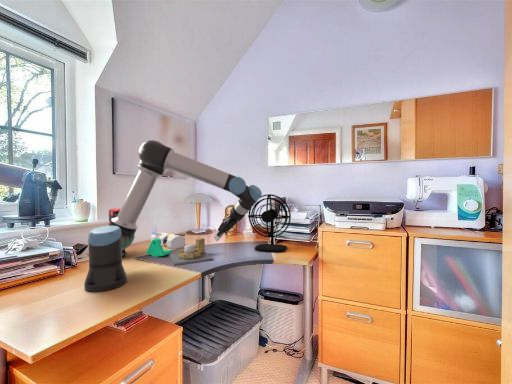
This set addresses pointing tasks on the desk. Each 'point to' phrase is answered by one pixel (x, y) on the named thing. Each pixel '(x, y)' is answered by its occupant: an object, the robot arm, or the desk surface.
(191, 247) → the cap base
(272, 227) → the desk fan
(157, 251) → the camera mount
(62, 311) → the desk surface
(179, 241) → the diorama
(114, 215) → the graphics card box
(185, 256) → the olive castle ruin model
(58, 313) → the desk surface
